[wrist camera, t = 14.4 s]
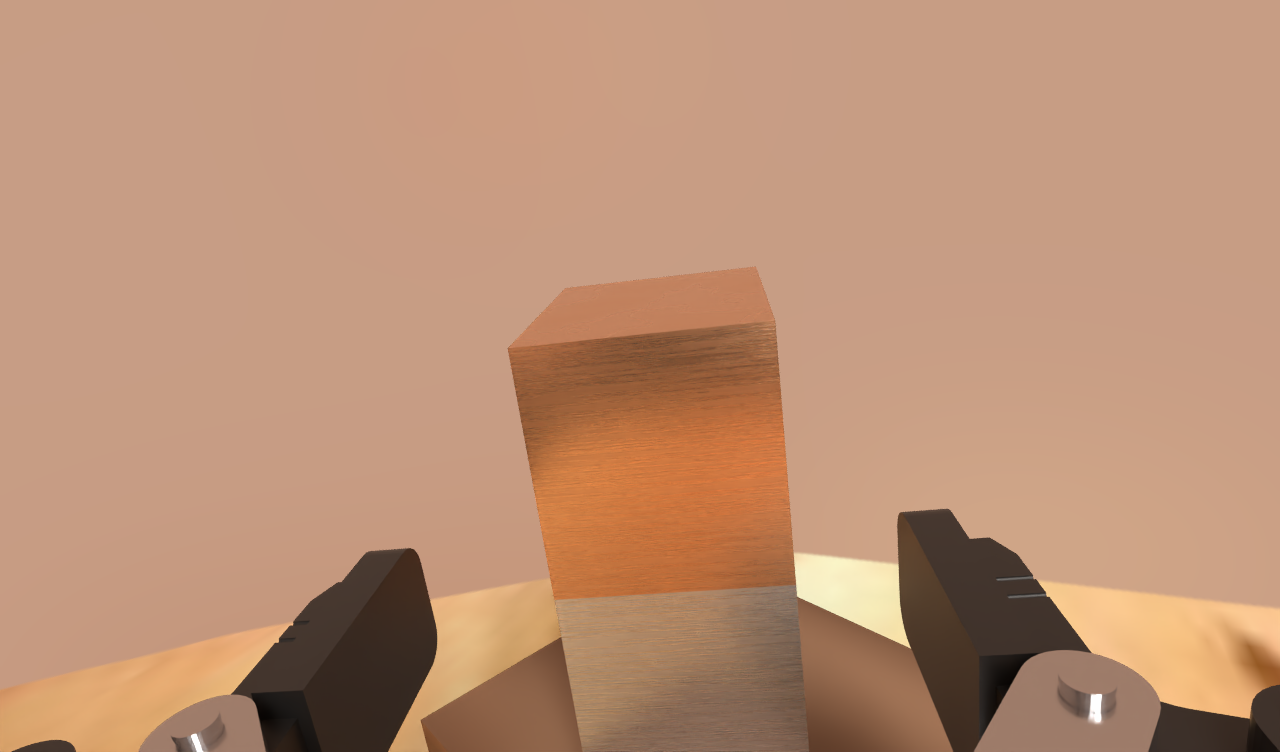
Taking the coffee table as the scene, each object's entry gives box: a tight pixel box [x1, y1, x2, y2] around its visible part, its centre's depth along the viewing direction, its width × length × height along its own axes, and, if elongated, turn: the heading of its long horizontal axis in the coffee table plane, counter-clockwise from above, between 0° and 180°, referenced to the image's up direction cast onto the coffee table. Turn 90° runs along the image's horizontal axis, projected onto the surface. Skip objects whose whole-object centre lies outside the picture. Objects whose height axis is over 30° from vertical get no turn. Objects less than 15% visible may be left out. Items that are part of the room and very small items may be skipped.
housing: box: [508, 267, 809, 752], centre depth 18 cm, size 5×6×11 cm
